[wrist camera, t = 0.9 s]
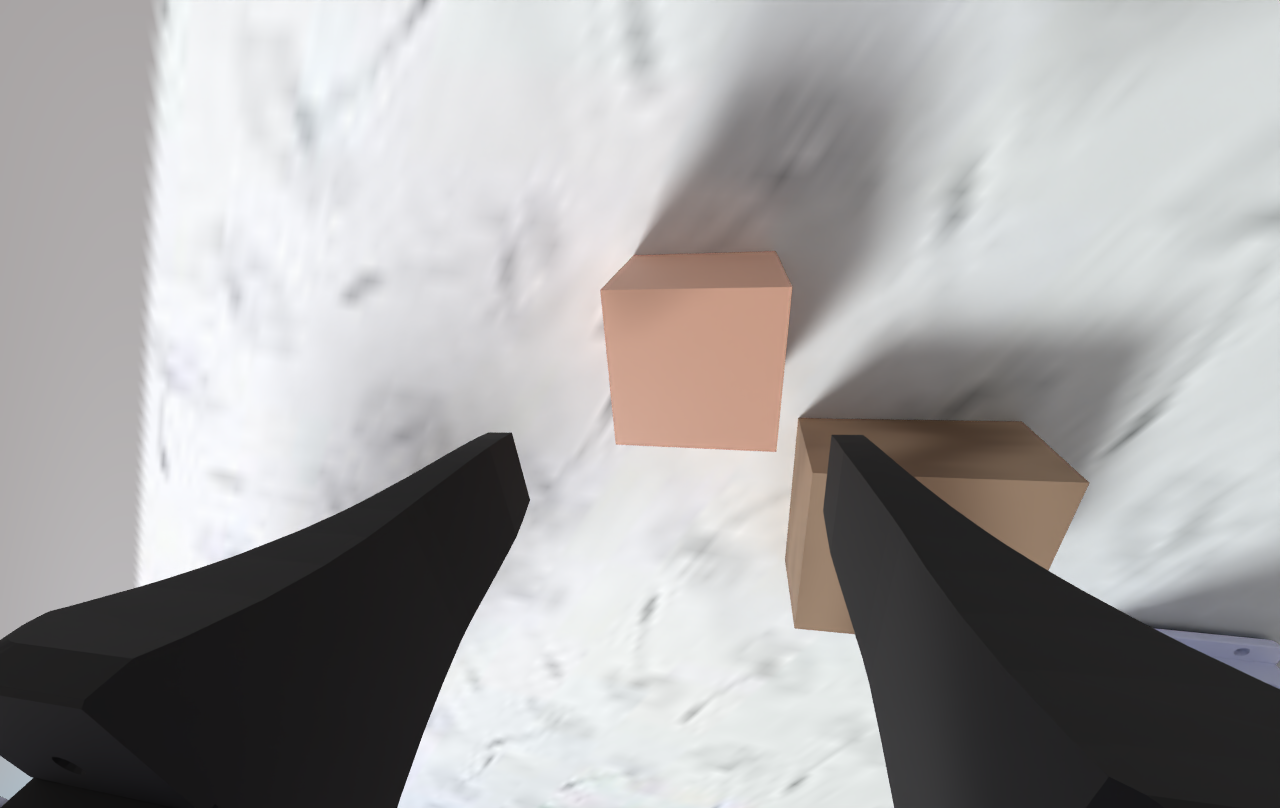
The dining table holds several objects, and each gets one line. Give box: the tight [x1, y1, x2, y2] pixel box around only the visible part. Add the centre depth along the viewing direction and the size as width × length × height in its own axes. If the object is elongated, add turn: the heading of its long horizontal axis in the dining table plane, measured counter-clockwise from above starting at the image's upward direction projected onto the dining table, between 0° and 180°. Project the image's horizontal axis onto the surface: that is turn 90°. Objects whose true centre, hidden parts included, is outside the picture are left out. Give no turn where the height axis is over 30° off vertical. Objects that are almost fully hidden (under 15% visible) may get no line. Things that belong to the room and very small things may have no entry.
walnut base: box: [785, 418, 1089, 634], centre depth 18 cm, size 8×8×4 cm
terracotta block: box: [600, 251, 792, 452], centre depth 15 cm, size 5×5×5 cm
